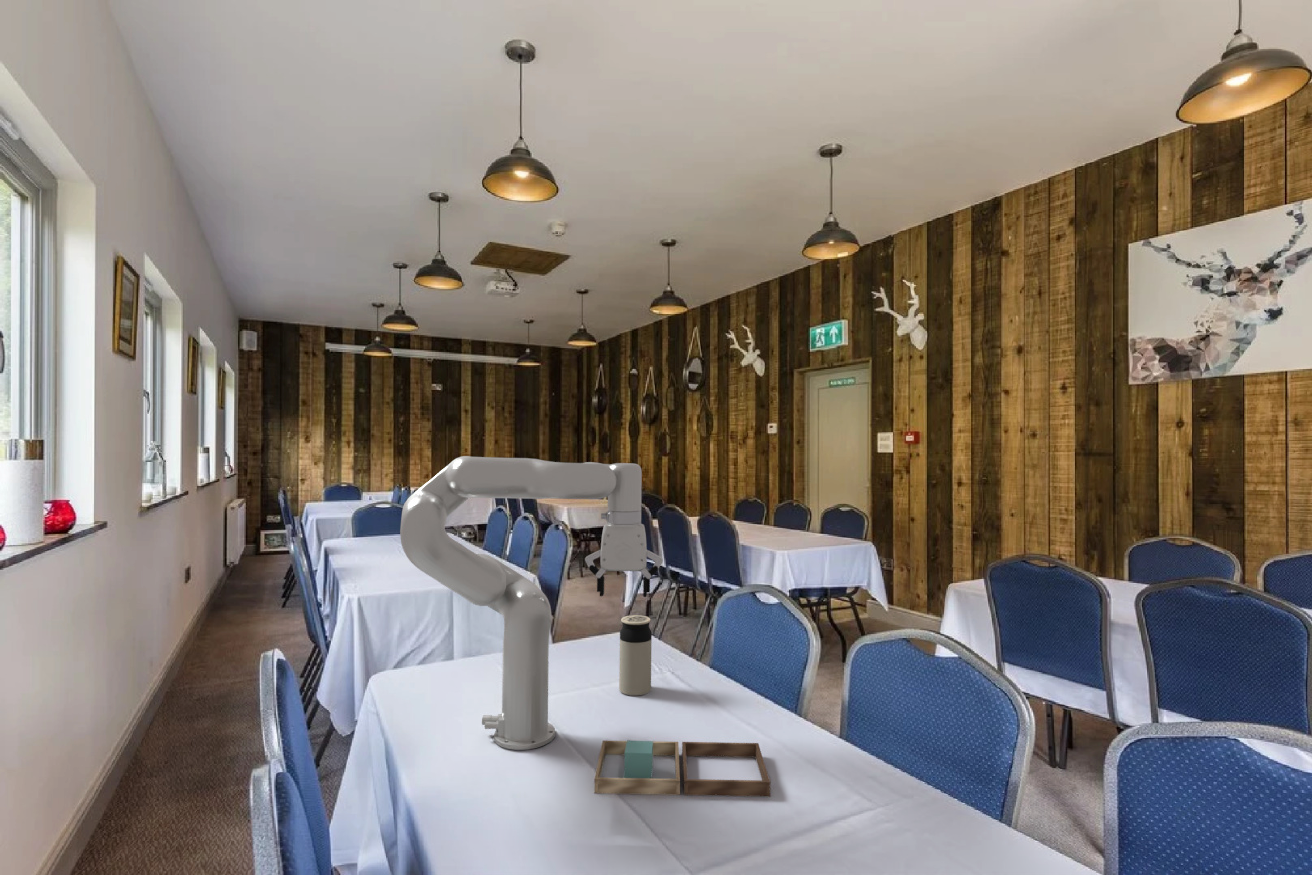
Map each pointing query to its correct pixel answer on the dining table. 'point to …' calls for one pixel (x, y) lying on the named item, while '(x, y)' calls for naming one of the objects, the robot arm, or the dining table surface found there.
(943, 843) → the dining table surface
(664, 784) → the oak tray
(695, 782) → the walnut tray
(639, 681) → the travel mug
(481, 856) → the dining table surface
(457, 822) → the dining table surface
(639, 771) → the teal cube
